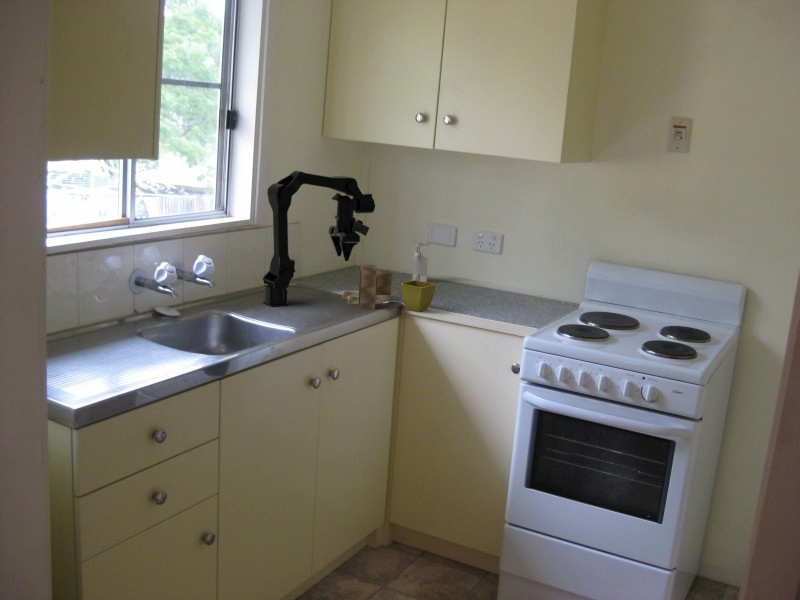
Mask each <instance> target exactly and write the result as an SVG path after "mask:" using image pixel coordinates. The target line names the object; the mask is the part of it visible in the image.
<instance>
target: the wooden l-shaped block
mask: <svg viewBox="0 0 800 600" xmlns="http://www.w3.org/2000/svg"><path fill="white" fill-rule="evenodd" d="M392 276H393V274H392V272H391V271H389V270H377V273H376V296H375V304H384V303H383V302H386V301H394V299H395V297H394V296H395V295H393V294H391V293H392ZM341 293H342V294H341V298H342V300H347V305H360V304H359V290H343V291H342V292H341Z"/></svg>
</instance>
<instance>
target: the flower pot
mask: <svg viewBox="0 0 800 600" xmlns="http://www.w3.org/2000/svg"><path fill="white" fill-rule="evenodd" d="M411 280H412V279H411ZM411 280H409V281H405V282H402V283H400V293H401V301H402V303H403V305H404V307H405V309H406V310H408V311H413V312H418V313H419V312H422V311H423V312H424V311H426V310H427V309H428V308H430V305H431V303H432V302H433V299H434V295H435V291H436V285H437V284H436V283H431V282H428V281H427V282H423V281H418V280H412V281H411Z"/></svg>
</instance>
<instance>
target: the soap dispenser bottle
mask: <svg viewBox="0 0 800 600" xmlns="http://www.w3.org/2000/svg"><path fill="white" fill-rule="evenodd" d="M411 248H412V249H411V265H412V277H411V280H410V281H412V280H418V281H423V282H428V279H427V271H428V267H429V263H430V258H431V257H430V255H431V244H430V243H428V242H426V241H425V242H422V241H416V242H413V243H412V247H411Z"/></svg>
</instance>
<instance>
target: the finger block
mask: <svg viewBox="0 0 800 600" xmlns="http://www.w3.org/2000/svg"><path fill="white" fill-rule="evenodd" d="M377 271H378V270H377V264H360V269H359V284H358V291H359V304H358V305H359V309H360V310H376V303H375V296H376V273H377Z"/></svg>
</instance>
